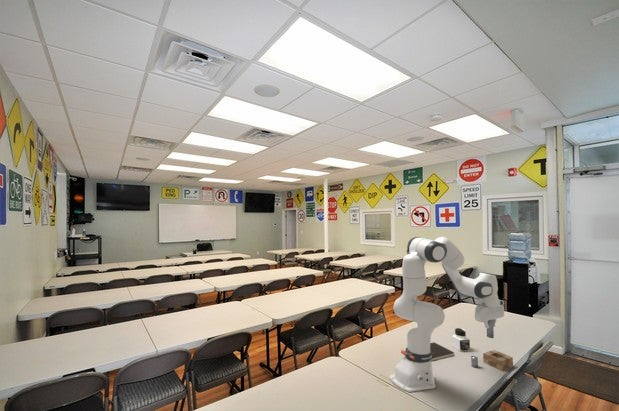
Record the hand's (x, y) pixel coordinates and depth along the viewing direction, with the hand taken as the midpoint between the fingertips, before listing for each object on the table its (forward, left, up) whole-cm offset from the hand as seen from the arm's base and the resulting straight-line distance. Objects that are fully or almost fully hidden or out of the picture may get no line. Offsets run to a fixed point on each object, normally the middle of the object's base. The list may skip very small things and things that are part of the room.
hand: (490, 327), depth 151 cm
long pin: (0, 0, -5) cm, 5 cm away
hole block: (+7, +1, -22) cm, 23 cm away
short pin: (-7, +5, -22) cm, 23 cm away
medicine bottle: (+6, +23, -22) cm, 32 cm away
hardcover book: (-17, +27, -23) cm, 39 cm away
